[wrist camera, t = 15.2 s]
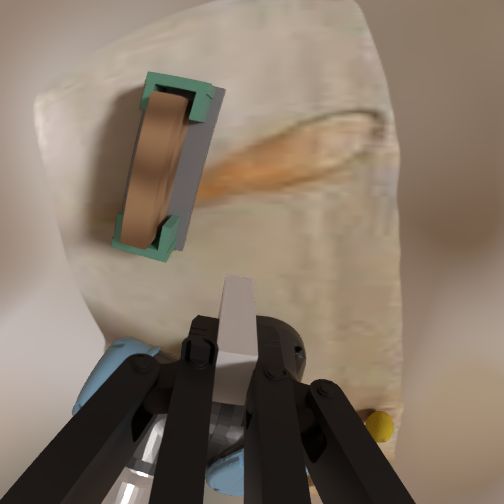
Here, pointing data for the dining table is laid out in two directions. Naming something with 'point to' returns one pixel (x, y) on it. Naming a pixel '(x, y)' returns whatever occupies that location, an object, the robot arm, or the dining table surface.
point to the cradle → (189, 165)
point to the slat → (155, 168)
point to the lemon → (380, 426)
